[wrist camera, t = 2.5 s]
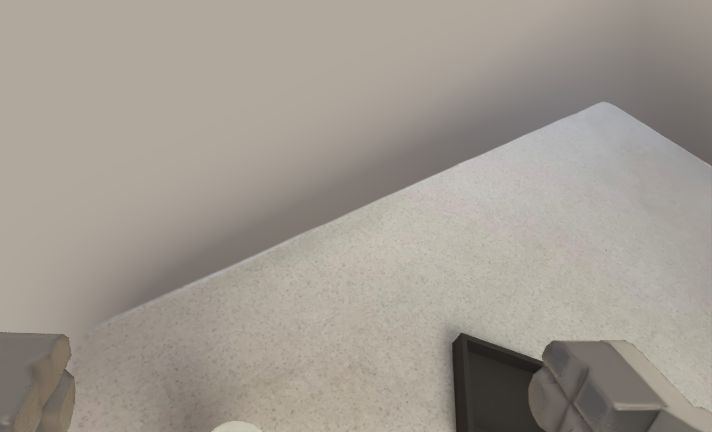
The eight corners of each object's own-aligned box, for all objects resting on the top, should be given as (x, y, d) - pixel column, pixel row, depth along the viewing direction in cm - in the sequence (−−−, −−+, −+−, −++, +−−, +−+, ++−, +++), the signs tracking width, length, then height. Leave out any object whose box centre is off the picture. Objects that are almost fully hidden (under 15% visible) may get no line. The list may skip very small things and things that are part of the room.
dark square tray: (456, 441, 41) (468, 431, 39) (452, 343, 49) (461, 332, 48) (562, 475, 42) (576, 466, 41) (540, 374, 50) (551, 364, 49)
